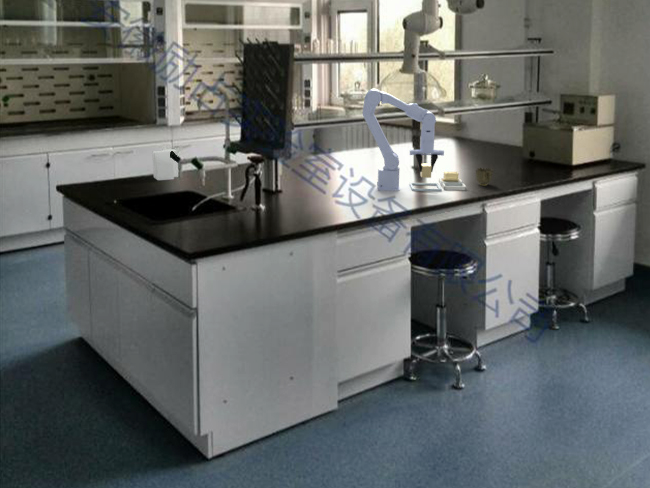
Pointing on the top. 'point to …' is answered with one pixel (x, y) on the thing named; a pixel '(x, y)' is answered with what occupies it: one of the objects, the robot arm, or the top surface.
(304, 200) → the top surface
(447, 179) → the billet
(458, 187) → the grey rectangular tray
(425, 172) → the billet
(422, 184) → the tote
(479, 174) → the cup
